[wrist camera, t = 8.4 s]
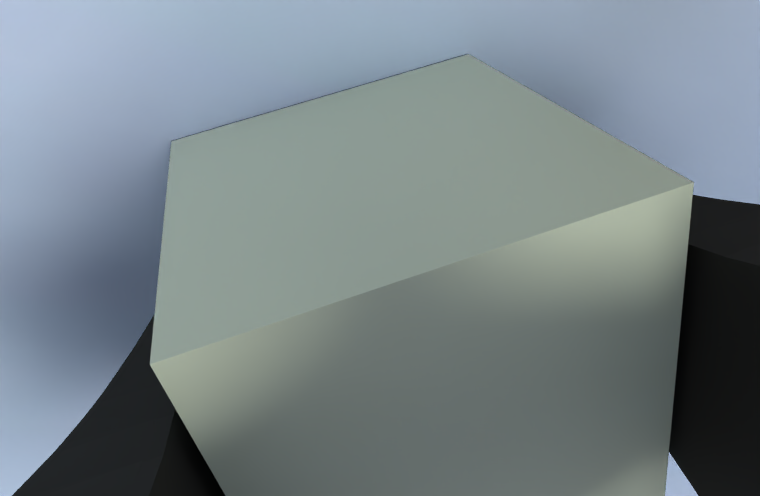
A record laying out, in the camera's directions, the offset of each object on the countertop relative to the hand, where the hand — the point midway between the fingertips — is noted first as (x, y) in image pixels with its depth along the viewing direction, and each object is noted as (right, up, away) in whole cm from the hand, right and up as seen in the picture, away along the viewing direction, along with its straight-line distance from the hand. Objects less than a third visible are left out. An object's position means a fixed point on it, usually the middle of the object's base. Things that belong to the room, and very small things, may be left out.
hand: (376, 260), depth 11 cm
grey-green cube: (0, +1, +1) cm, 1 cm away
